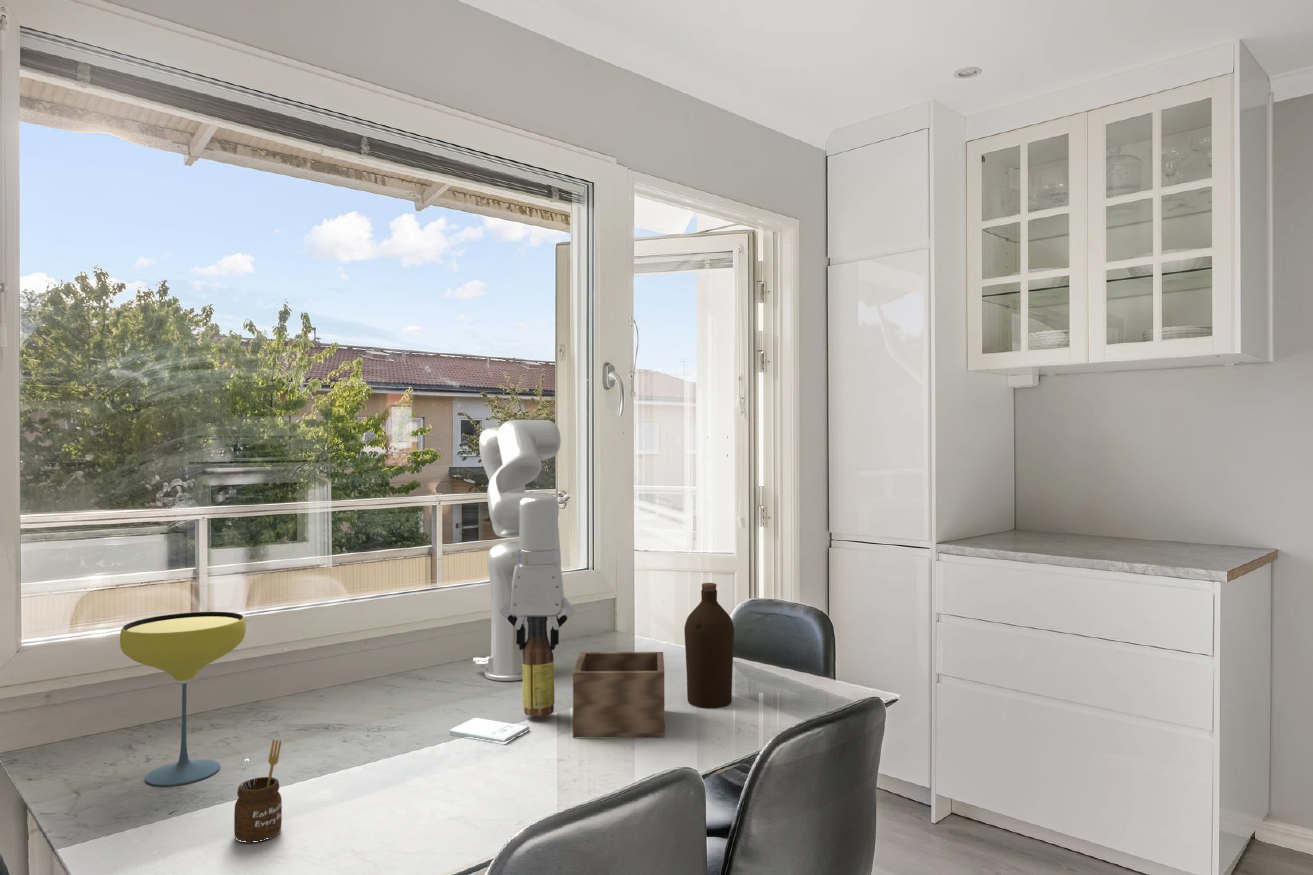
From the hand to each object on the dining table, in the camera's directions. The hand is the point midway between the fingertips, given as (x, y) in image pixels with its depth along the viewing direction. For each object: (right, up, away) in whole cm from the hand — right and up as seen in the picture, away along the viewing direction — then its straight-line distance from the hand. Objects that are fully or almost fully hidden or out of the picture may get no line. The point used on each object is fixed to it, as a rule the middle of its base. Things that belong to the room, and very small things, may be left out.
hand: (537, 647), depth 163 cm
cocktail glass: (-55, -14, -28) cm, 63 cm away
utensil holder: (-31, -13, -50) cm, 61 cm away
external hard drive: (-8, -15, -9) cm, 19 cm away
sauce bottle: (0, -13, 0) cm, 13 cm away
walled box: (+17, -14, -4) cm, 22 cm away
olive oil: (+35, -14, +10) cm, 39 cm away
